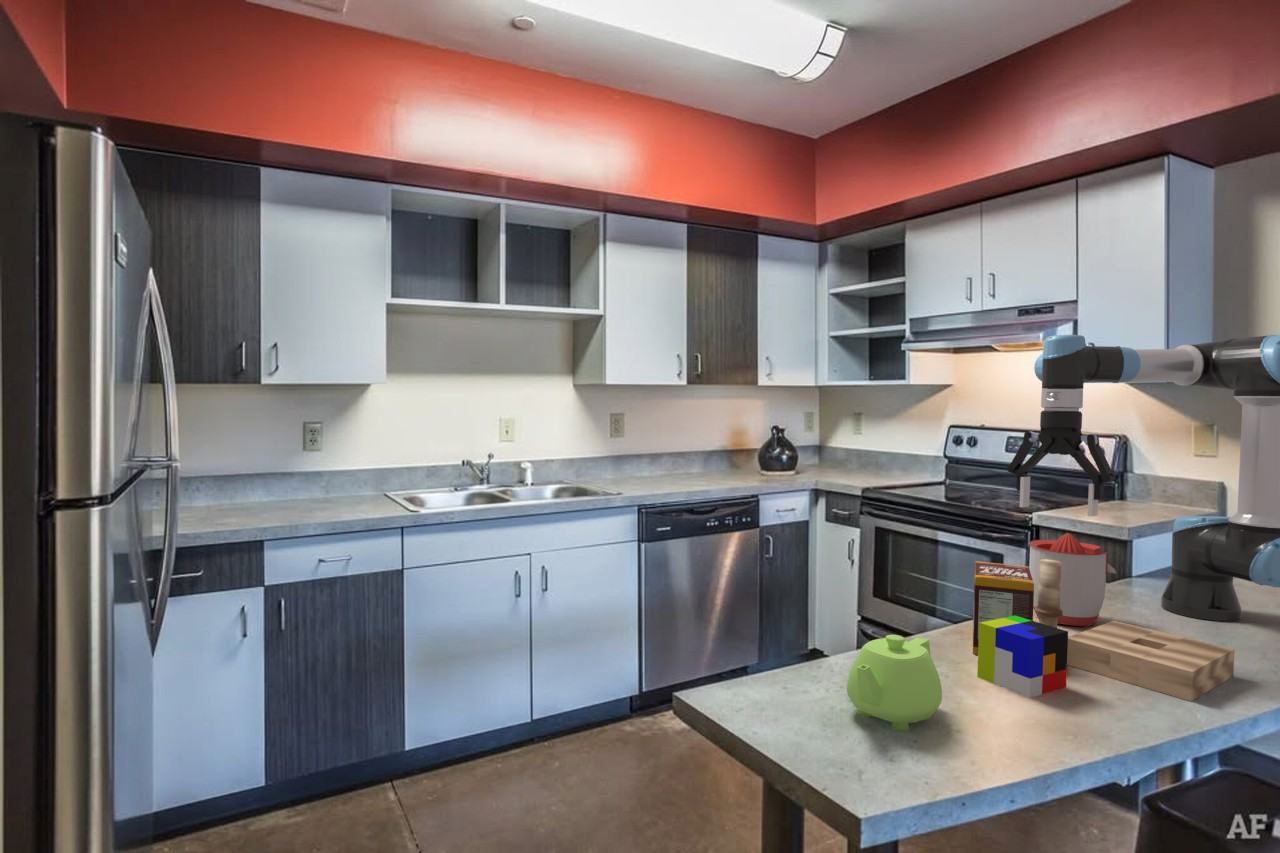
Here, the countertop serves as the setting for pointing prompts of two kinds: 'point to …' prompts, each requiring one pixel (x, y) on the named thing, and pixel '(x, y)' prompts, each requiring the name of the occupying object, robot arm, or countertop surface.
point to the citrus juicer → (1074, 577)
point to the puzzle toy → (1022, 655)
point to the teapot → (895, 681)
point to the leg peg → (1049, 592)
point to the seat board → (1151, 659)
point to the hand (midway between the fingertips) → (1057, 511)
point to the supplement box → (1001, 594)
